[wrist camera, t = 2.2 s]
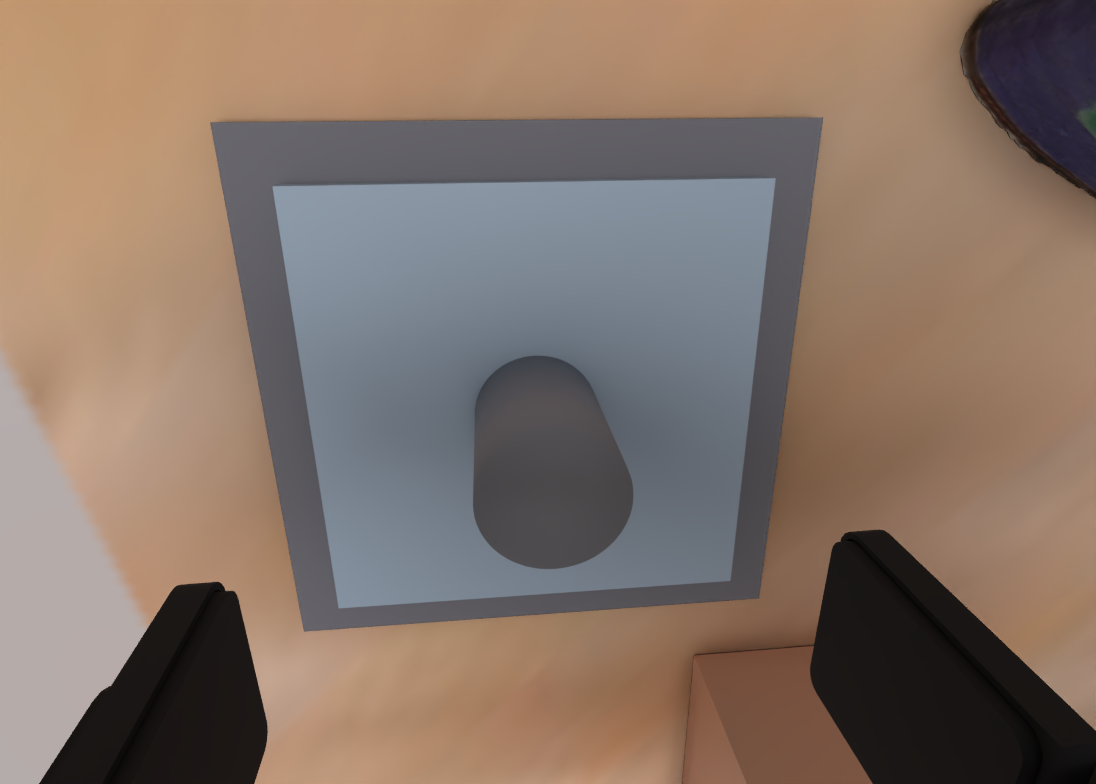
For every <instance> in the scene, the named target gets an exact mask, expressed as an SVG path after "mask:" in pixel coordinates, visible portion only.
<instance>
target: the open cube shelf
mask: <svg viewBox="0 0 1096 784" xmlns="http://www.w3.org/2000/svg"><path fill="white" fill-rule="evenodd" d="M813 648H814V646H806V647H793V648H781V649H768V650H756V651H743V652H731V653H718V654H706V655H694V660H693V671H692V682H691V693H690V704H689V714H688V725H687V736H686V747H685V758H684V769H683V779H682V784H873V783H872V782H871V780H870V779H869V777H868V775H867V774H866V772H865V771H864V769H863V767H862V766H861V764H860V762H859V761H858V759H857V758H856V756H855V754H854V753H853V751H852V750H851V748H850V746H849V745H848V743H847V742H846V740H845V738H844V737H843V735H842V734H841V732H840V730H839V729H838V727H837V726H836V724H835V722H834V721H833V719H832V717H831V716H830V714H829V713H828V711H827V709H826V708H825V706H824V705H823V703H822V701H821V700H820V698H819V697H818V695H817V693H816V691H815V690H814V687H813V685H812V681H811V677H810V664H811V659H812V654H813Z"/></svg>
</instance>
